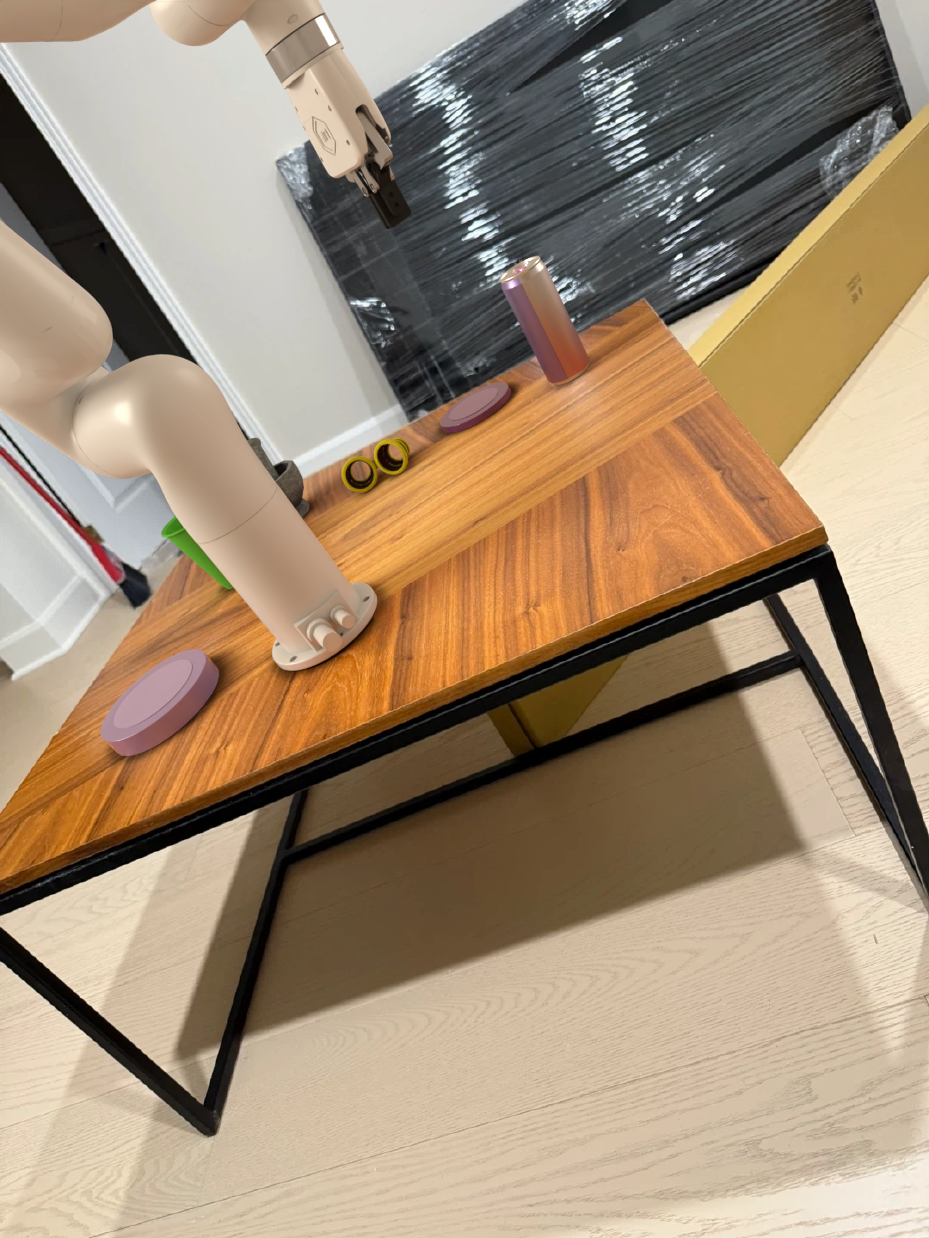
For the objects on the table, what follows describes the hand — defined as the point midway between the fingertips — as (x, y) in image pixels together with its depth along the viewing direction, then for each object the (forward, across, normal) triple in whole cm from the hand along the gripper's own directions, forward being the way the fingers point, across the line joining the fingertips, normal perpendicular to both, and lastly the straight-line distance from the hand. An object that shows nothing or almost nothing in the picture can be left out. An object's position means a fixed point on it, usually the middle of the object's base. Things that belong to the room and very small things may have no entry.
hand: (399, 221), depth 96 cm
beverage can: (+27, +2, +10) cm, 29 cm away
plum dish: (+27, -10, +1) cm, 29 cm away
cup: (+27, -17, -39) cm, 50 cm away
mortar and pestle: (+27, -25, -27) cm, 45 cm away
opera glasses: (+27, -12, -15) cm, 33 cm away
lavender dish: (+26, +4, -56) cm, 61 cm away
